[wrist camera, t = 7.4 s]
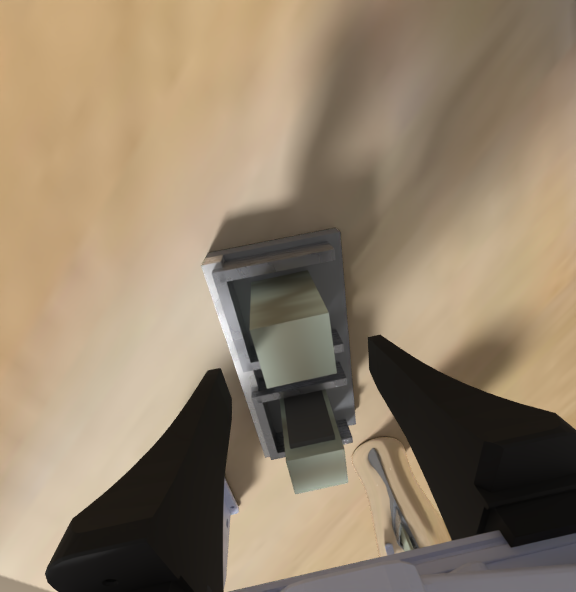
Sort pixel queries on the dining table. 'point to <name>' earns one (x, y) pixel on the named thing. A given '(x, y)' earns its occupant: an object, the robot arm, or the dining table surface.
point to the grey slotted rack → (300, 395)
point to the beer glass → (396, 499)
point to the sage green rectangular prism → (291, 329)
